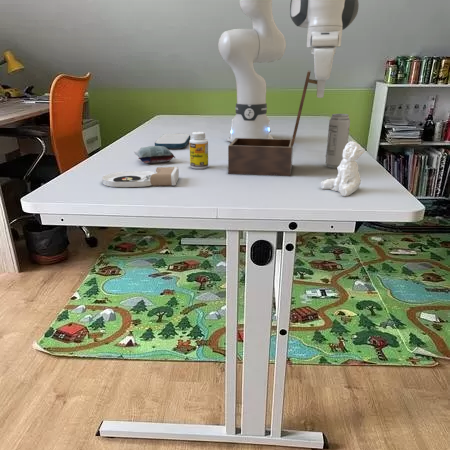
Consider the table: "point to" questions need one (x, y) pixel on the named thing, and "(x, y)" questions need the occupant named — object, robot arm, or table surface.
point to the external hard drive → (173, 140)
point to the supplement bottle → (198, 151)
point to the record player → (143, 178)
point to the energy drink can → (337, 139)
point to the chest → (260, 156)
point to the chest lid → (302, 104)
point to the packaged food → (154, 154)
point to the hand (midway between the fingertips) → (319, 97)
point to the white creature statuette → (346, 171)
